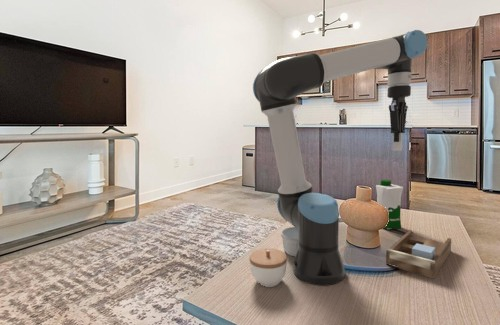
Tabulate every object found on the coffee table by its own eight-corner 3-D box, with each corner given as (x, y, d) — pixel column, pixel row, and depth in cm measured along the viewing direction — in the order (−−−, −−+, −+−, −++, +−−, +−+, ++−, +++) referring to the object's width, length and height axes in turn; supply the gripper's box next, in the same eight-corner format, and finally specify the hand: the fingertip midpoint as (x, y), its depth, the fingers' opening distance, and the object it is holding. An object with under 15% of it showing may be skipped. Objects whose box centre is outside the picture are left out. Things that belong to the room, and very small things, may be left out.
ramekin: (319, 245, 107) (319, 227, 106) (318, 261, 94) (318, 241, 93) (284, 242, 110) (284, 225, 109) (278, 257, 98) (278, 238, 97)
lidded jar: (284, 271, 88) (283, 242, 87) (290, 290, 77) (289, 258, 76) (249, 273, 88) (248, 244, 86) (251, 292, 77) (249, 260, 76)
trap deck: (386, 264, 90) (386, 249, 89) (409, 241, 107) (409, 228, 106) (433, 278, 81) (434, 262, 80) (450, 251, 98) (451, 237, 97)
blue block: (411, 260, 86) (411, 248, 86) (416, 255, 90) (416, 243, 90) (430, 266, 83) (430, 253, 83) (434, 260, 86) (435, 247, 86)
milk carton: (389, 222, 129) (390, 178, 126) (404, 228, 120) (406, 182, 118) (372, 224, 126) (373, 180, 124) (387, 231, 118) (388, 184, 115)
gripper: (404, 83, 96) (402, 152, 99) (416, 86, 105) (414, 149, 108) (381, 86, 101) (380, 151, 104) (394, 88, 110) (393, 149, 113)
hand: (397, 150), depth 106 cm, fingers closed
